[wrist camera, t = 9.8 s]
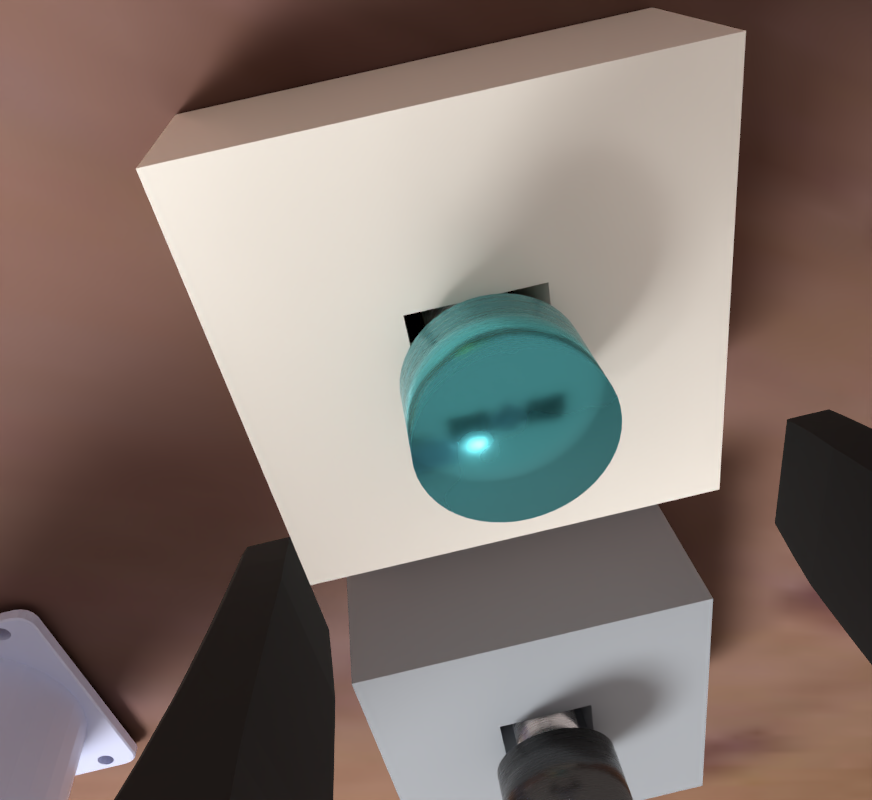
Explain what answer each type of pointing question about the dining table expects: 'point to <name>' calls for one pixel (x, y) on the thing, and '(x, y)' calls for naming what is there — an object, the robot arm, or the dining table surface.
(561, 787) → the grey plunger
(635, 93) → the cream block
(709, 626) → the grey block
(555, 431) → the teal round knob
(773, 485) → the dining table surface
